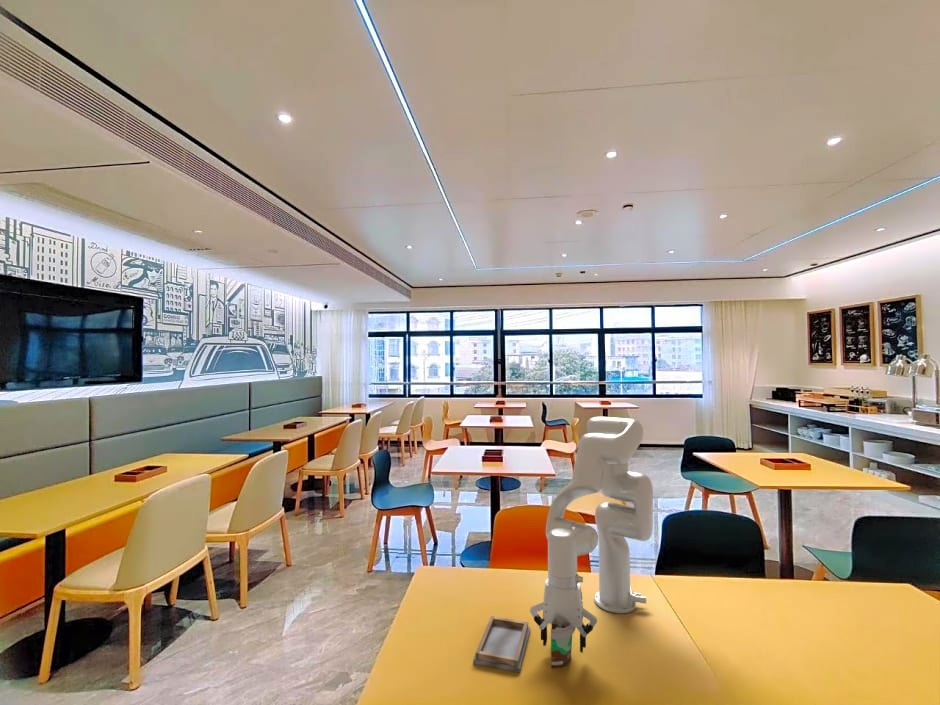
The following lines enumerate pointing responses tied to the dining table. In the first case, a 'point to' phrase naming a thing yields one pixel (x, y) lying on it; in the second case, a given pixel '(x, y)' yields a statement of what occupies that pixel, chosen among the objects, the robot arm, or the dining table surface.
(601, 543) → the robot arm
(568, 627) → the food container
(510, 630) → the board
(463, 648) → the dining table surface
